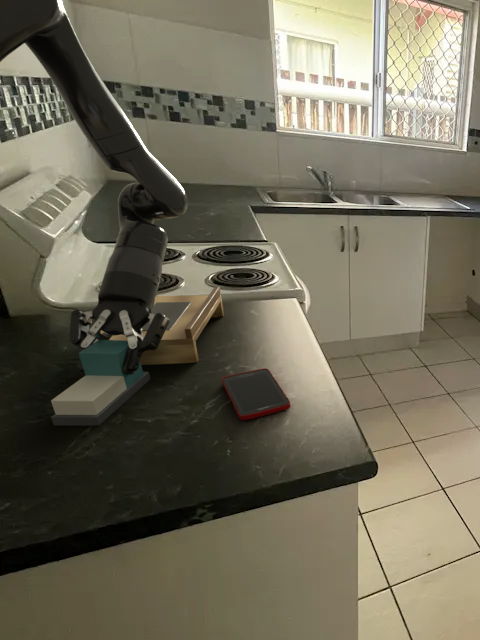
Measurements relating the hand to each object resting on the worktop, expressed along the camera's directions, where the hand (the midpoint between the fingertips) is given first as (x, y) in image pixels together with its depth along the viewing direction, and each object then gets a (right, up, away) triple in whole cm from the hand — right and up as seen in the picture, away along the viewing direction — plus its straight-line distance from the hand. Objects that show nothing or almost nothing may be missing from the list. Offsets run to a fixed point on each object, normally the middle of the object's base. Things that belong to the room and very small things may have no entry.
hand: (106, 372), depth 76 cm
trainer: (0, -5, 0) cm, 5 cm away
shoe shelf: (-5, +6, +21) cm, 23 cm away
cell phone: (+21, -4, +5) cm, 22 cm away
